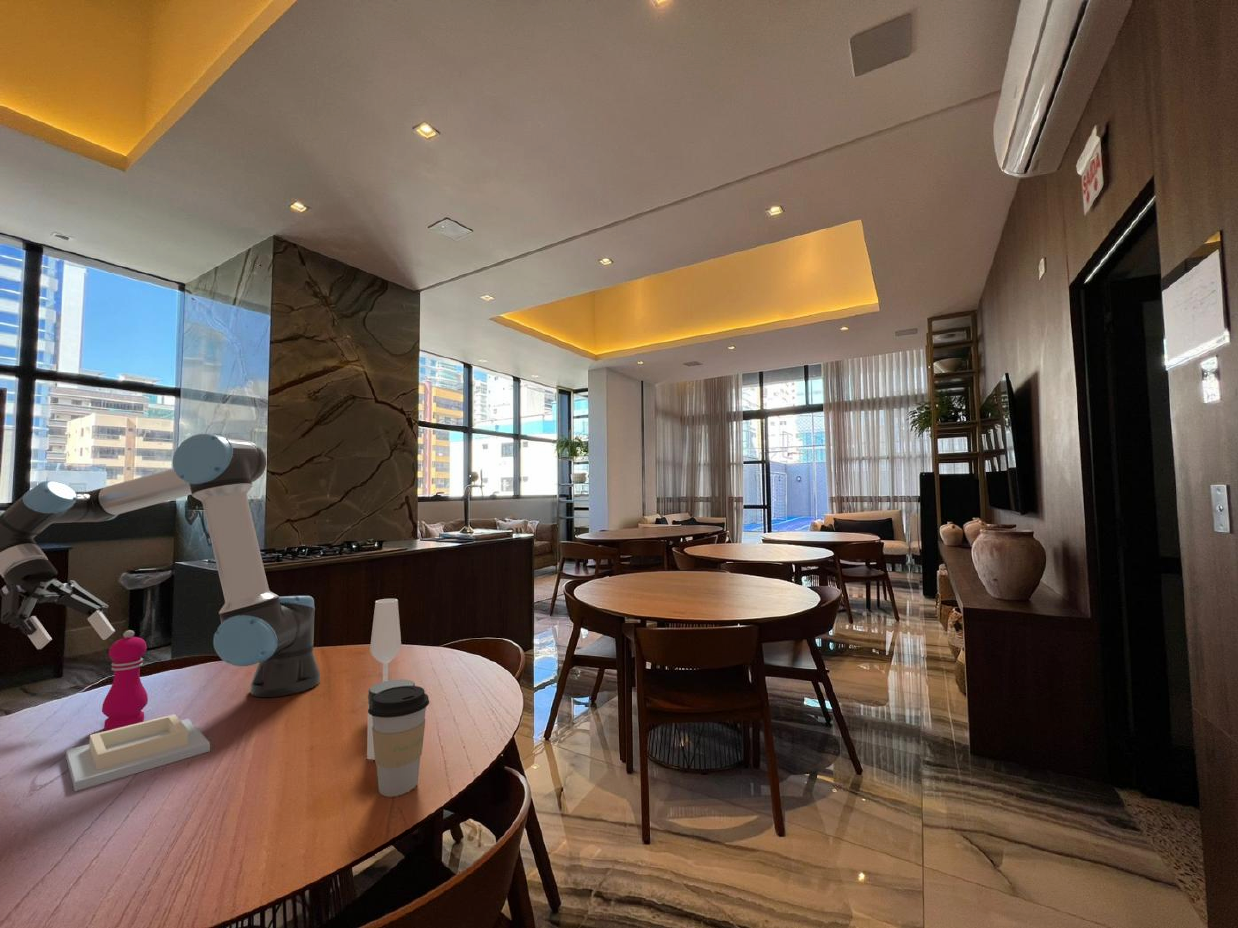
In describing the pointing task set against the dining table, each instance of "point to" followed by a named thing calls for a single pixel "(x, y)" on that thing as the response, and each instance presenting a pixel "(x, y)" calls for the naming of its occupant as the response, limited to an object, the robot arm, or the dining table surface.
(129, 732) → the board
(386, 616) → the champagne flute
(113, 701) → the pepper mill
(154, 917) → the dining table surface
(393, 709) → the coffee cup
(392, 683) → the jar
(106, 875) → the dining table surface
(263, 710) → the dining table surface
